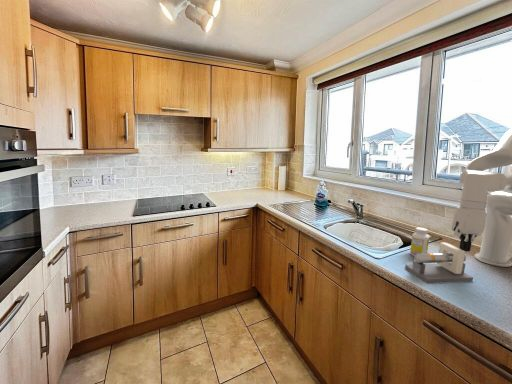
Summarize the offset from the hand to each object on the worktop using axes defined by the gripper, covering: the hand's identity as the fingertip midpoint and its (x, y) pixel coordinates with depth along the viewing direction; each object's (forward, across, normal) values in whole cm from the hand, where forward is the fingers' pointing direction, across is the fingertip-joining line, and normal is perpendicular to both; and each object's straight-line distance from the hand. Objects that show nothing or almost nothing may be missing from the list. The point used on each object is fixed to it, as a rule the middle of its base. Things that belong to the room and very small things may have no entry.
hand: (464, 250), depth 105 cm
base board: (+10, +10, 0) cm, 14 cm away
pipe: (+9, +10, 0) cm, 13 cm away
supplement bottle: (+10, +4, -18) cm, 21 cm away
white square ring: (+7, +6, 0) cm, 9 cm away
